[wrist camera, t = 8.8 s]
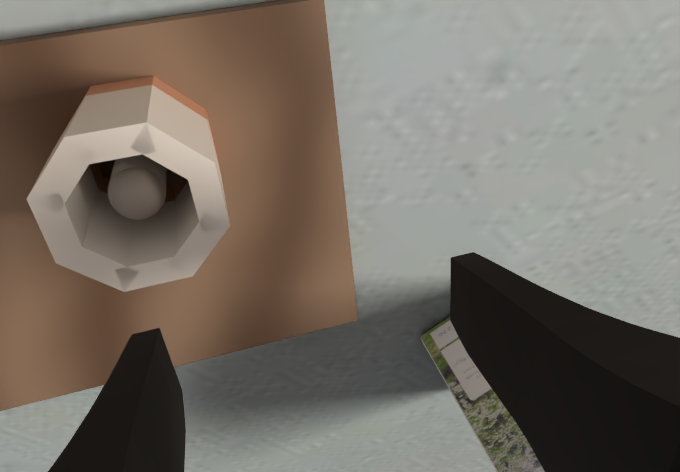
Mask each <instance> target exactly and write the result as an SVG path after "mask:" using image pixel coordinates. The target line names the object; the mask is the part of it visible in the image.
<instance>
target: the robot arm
mask: <svg viewBox="0 0 680 472" xmlns="http://www.w3.org/2000/svg"><path fill="white" fill-rule="evenodd" d="M450 321H451V323H452V325H453V327H454V329H455V331H456V333H457V335H458V337H459V339H460V341H461V342H462V344H463V346H464V348H465V350H466V352H467V354H468V355H469V356H470V358H471V359H472V361H473V362H474V364H475V365H476V367H477V368H478V370H479V371H480V372H481V374H482V375H483V377H484V378H485V380H486V381H487V382H488V384H489V385H490V387H491V388H492V389H493V391H494V392H495V394H496V395H497V397H498V398H499V399H500V401H501V402H502V404H503V405H504V406H505V408H506V409H507V411H508V412H509V413H510V415H511V416H512V418H513V419H514V421H515V422H516V423H517V425H518V427H519V428H520V430H521V431H522V433H523V434H524V436H525V437H526V439H527V441H528V443H529V444H530V446H531V448H532V450H533V452H534V453H535V455H536V457H537V459H538V460H539V462H540V464H541V466H542V468H543V469H544V471H545V472H680V338H678V337H674V336H671V335H667V334H664V333H660V332H657V331H653V330H650V329H646V328H643V327H640V326H636V325H633V324H630V323H627V322H624V321H622V320H619V319H616V318H613V317H610V316H608V315H605V314H602V313H599V312H597V311H594V310H592V309H589V308H587V307H584V306H582V305H580V304H577V303H575V302H573V301H571V300H568V299H566V298H564V297H561V296H559V295H557V294H555V293H553V292H551V291H549V290H547V289H544V288H542V287H540V286H538V285H536V284H534V283H532V282H530V281H528V280H526V279H525V278H523V277H521V276H519V275H517V274H515V273H513V272H511V271H509V270H507V269H505V268H503V267H502V266H500V265H498V264H496V263H494V262H492V261H490V260H488V259H486V258H484V257H482V256H480V255H478V254H476V253H474V252H472V253H468V254H464V255H460V256H456V257H452V258H451V303H450ZM185 432H186V430H185V417H184V405H183V395H182V389H181V386H180V383H179V380H178V378H177V375H176V372H175V369H174V367H173V364H172V361H171V358H170V355H169V353H168V350H167V347H166V344H165V342H164V339H163V336H162V333H161V330H160V328H156V329H152V330H148V331H144V332H140V333H135V334H132V335H131V337H130V338H129V340H128V342H127V344H126V346H125V348H124V350H123V351H122V353H121V355H120V357H119V359H118V361H117V363H116V365H115V367H114V369H113V371H112V372H111V374H110V376H109V378H108V380H107V382H106V383H105V385H104V387H103V389H102V390H101V392H100V394H99V396H98V397H97V399H96V401H95V403H94V404H93V406H92V408H91V409H90V411H89V413H88V414H87V416H86V417H85V419H84V420H83V422H82V423H81V425H80V426H79V428H78V430H77V431H76V433H75V434H74V436H73V437H72V439H71V440H70V442H69V443H68V445H67V446H66V448H65V449H64V450H63V452H62V453H61V455H60V456H59V458H58V459H57V460H56V462H55V463H54V464H53V466H52V467H51V468H50V470H49V471H48V472H184V460H185Z"/></svg>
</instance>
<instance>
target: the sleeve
mask: <svg viewBox="0 0 680 472" xmlns="http://www.w3.org/2000/svg"><path fill="white" fill-rule="evenodd" d="M142 154H143V155H145V156H146V157H148V158H150V159H152V160H153V161H155V162H157V163H159V164H161V165H162V166H164V167H166V168H168V169H170V170H171V171H173V172H175V173H177V174H178V175H180V176H182V177H181V178H180V180H179V181H178V182H177V184H176V185H175V186H174V187H169V188H166V198H165V202H164V204H163V206H162V208H161V209H160V210H159V211H158V212H157V213H156V214H155V215H153V216H152V217H149V218H147V219H142V220H133V219H129V218H126V217H124V216H122V215H120V214H119V213H118V212H117V211H116V210H115V209H114V208H113V207H112V205H111V203H110V201H109V197H108V186H109V182H110V179H109V178H107V177H105V176H103V175H102V172H101V170H100V167H99V164H98V163H99V162H104V161H110V160H115V159H120V158H126V157H131V156H136V155H142ZM27 201H28V203H29V206H30V208H31V210H32V212H33V214H34V217H35V219H36V221H37V223H38V225H39V228H40V230H41V232H42V234H43V236H44V239H45V241H46V243H47V245H48V247H49V250H50V252H51V254H52V256H53V258H54V261H55V263H56V264H59V265H61V266H63V267H66V268H68V269H71V270H73V271H75V272H78V273H80V274H83V275H85V276H87V277H90V278H92V279H94V280H97V281H99V282H102V283H104V284H106V285H109V286H111V287H114V288H116V289H118V290H121V291H123V292H126V291H131V290H135V289H140V288H144V287H148V286H153V285H157V284H162V283H166V282H170V281H175V280H179V279H184V278H188V277H192V276H193V275H194V274H195V273H196V271H197V270H198V269H199V267H200V266H201V265H202V263H203V262H204V261H205V259H206V258H207V256H208V255H209V254H210V252H211V251H212V250H213V248H214V247H215V246H216V244H217V243H218V242H219V240H220V239H221V237H222V236H223V235H224V233H225V232H226V231H227V229H228V228H229V227H230V223H229V217H228V211H227V206H226V200H225V195H224V189H223V184H222V178H221V173H220V167H219V162H218V158H217V154H216V149H215V145H214V141H213V137H212V132H211V128H210V124H209V120H208V115H207V111H206V109H204V108H203V107H201V106H200V105H198V104H197V103H195V102H194V101H192V100H190V99H189V98H187V97H186V96H184V95H183V94H181V93H180V92H178V91H177V90H175V89H173V88H172V87H170V86H169V85H167V84H166V83H164V82H163V81H161V80H159V79H158V78H156V77H155V76H149V77H143V78H136V79H130V80H124V81H118V82H112V83H106V84H100V85H94V86H90V88H89V90H88V92H87V93H86V95H85V97H84V98H83V100H82V102H81V103H80V105H79V107H78V108H77V110H76V112H75V113H74V115H73V116H72V118H71V120H70V121H69V123H68V125H67V126H66V128H65V130H64V131H63V133H62V135H61V136H60V138H59V140H58V142H57V144H56V146H55V147H54V149H53V151H52V153H51V155H50V157H49V158H48V160H47V162H46V164H45V166H44V168H43V169H42V171H41V173H40V175H39V177H38V179H37V181H36V182H35V184H34V186H33V188H32V190H31V192H30V193H29V195H28V197H27Z"/></svg>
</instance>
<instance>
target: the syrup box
mask: <svg viewBox="0 0 680 472" xmlns="http://www.w3.org/2000/svg"><path fill="white" fill-rule="evenodd" d="M421 341H422V343H423V344H424V346H425V348H426V350H427V351H428V353H429V355H430V356H431V358H432V360H433V362H434V363H435V365H436V367H437V369H438V370H439V372H440V374H441V376H442V377H443V379H444V381H445V383H446V384H447V386H448V388H449V390H450V392H451V393H452V395H453V397H454V398H455V400H456V402H457V403H458V405H459V407H460V408H461V410H462V412H463V414H464V415H465V417H466V419H467V421H468V422H469V424H470V426H471V427H472V429H473V431H474V433H475V434H476V436H477V438H478V440H479V441H480V443H481V445H482V447H483V448H484V450H485V452H486V454H487V455H488V457H489V459H490V461H491V463H492V464H493V466H494V468H495V469H496V471H497V472H545V471H544V469H543V468H542V466H541V464H540V462H539V460H538V459H537V457H536V455H535V453H534V452H533V450H532V448H531V446H530V444H529V443H528V441H527V439H526V437H525V436H524V434H523V433H522V431H521V430H520V428H519V427H518V425H517V423H516V422H515V421H514V419H513V418H512V416H511V415H510V413H509V412H508V411H507V409H506V408H505V406H504V405H503V404H502V402H501V401H500V399H499V398H498V397H497V395H496V394H495V392H494V391H493V389H492V388H491V387H490V385H489V384H488V382H487V381H486V380H485V378H484V377H483V375H482V374H481V372H480V371H479V370H478V368H477V367H476V365H475V364H474V362H473V361H472V359H471V358H470V356H469V355H468V354H467V352H466V350H465V348H464V346H463V344H462V342H461V341H460V339H459V337H458V335H457V333H456V331H455V329H454V327H453V325H452V323H451V321H450V317H448V318H447V319H445V320H444V321H442V322H440V323H439V324H438V325H436V326H435V327H433V328H431V329H430V330H429V331H427V332H426V333H425V334H423V335H422V336H421Z"/></svg>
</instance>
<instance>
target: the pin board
mask: <svg viewBox="0 0 680 472" xmlns="http://www.w3.org/2000/svg"><path fill="white" fill-rule="evenodd" d="M149 76H155V77H156V78H158V79H159V80H161V81H163V82H164V83H166V84H167V85H169V86H170V87H172V88H173V89H175V90H177V91H178V92H180V93H181V94H183V95H184V96H186V97H187V98H189V99H190V100H192V101H194V102H195V103H197V104H198V105H200V106H201V107H203V108H204V109H206V111H207V115H208V120H209V124H210V128H211V132H212V137H213V141H214V145H215V149H216V154H217V158H218V162H219V167H220V173H221V178H222V184H223V189H224V195H225V200H226V206H227V211H228V217H229V223H230V227H229V228H228V229H227V231H226V232H225V233H224V235H223V236H222V237H221V239H220V240H219V242H218V243H217V244H216V246H215V247H214V248H213V250H212V251H211V252H210V254H209V255H208V256H207V258H206V259H205V261H204V262H203V263H202V265H201V266H200V267H199V269H198V270H197V271H196V273H195V274H194V275H193V276H192V277H188V278H184V279H179V280H175V281H170V282H166V283H162V284H157V285H153V286H148V287H144V288H140V289H135V290H131V291H126V292H123V291H121V290H118V289H116V288H114V287H111V286H109V285H106V284H104V283H102V282H99V281H97V280H94V279H92V278H90V277H87V276H85V275H83V274H80V273H78V272H75V271H73V270H71V269H68V268H66V267H63V266H61V265H59V264H56V263H55V261H54V258H53V256H52V254H51V252H50V250H49V247H48V245H47V243H46V241H45V239H44V236H43V234H42V232H41V230H40V228H39V225H38V223H37V221H36V219H35V217H34V214H33V212H32V210H31V208H30V206H29V203H28V201H27V197H28V195H29V193H30V192H31V190H32V188H33V186H34V184H35V182H36V181H37V179H38V177H39V175H40V173H41V171H42V169H43V168H44V166H45V164H46V162H47V160H48V158H49V157H50V155H51V153H52V151H53V149H54V147H55V146H56V144H57V142H58V140H59V138H60V136H61V135H62V133H63V131H64V130H65V128H66V126H67V125H68V123H69V121H70V120H71V118H72V116H73V115H74V113H75V112H76V110H77V108H78V107H79V105H80V103H81V102H82V100H83V98H84V97H85V95H86V93H87V92H88V90H89V88H90V86H94V85H100V84H106V83H112V82H118V81H124V80H130V79H136V78H143V77H149ZM98 164H99V167H100V170H101V172H102V175H103V176H105V177H107V178H109V179H110V182H109V186H108V197H109V201H110V203H111V205H112V207H113V208H114V209H115V210H116V211H117V212H118V213H119V214H120V215H122V216H124V217H126V218H129V219H133V220H142V219H147V218H149V217H152V216H153V215H155V214H156V213H157V212H158V211H159V210H160V209H161V208H162V206H163V204H164V202H165V198H166V188H169V187H174V186H175V185H176V184H177V182H178V181H179V180H180V178H181V177H182V176H180V175H178V174H177V173H175V172H173V171H171V170H170V169H168V168H166V167H164V166H162V165H161V164H159V163H157V162H155V161H153V160H152V159H150V158H148V157H146V156H145V155H143V154H142V155H136V156H131V157H126V158H120V159H115V160H110V161H104V162H99V163H98ZM357 320H358V314H357V304H356V295H355V286H354V276H353V267H352V258H351V248H350V239H349V230H348V220H347V211H346V201H345V192H344V183H343V173H342V164H341V155H340V145H339V136H338V127H337V117H336V108H335V98H334V89H333V80H332V70H331V61H330V52H329V42H328V33H327V24H326V14H325V5H324V0H279V1H272V2H265V3H258V4H251V5H244V6H237V7H230V8H224V9H217V10H210V11H203V12H196V13H189V14H182V15H175V16H169V17H162V18H155V19H148V20H141V21H134V22H127V23H120V24H114V25H107V26H100V27H93V28H86V29H79V30H72V31H65V32H59V33H52V34H45V35H38V36H31V37H24V38H17V39H10V40H4V41H0V411H2V410H6V409H10V408H14V407H18V406H22V405H26V404H30V403H34V402H38V401H42V400H46V399H50V398H54V397H57V396H61V395H65V394H69V393H73V392H77V391H81V390H85V389H89V388H93V387H97V386H101V385H105V383H106V382H107V380H108V378H109V376H110V374H111V372H112V371H113V369H114V367H115V365H116V363H117V361H118V359H119V357H120V355H121V353H122V351H123V350H124V348H125V346H126V344H127V342H128V340H129V338H130V337H131V335H132V334H135V333H140V332H144V331H148V330H152V329H156V328H160V330H161V333H162V336H163V339H164V342H165V344H166V347H167V350H168V353H169V355H170V358H171V361H172V364H173V367H176V366H180V365H184V364H188V363H192V362H196V361H200V360H204V359H207V358H211V357H215V356H219V355H223V354H227V353H231V352H235V351H239V350H243V349H247V348H251V347H255V346H259V345H263V344H267V343H271V342H275V341H278V340H282V339H286V338H290V337H294V336H298V335H302V334H306V333H310V332H314V331H318V330H322V329H326V328H330V327H334V326H338V325H342V324H346V323H350V322H353V321H357Z"/></svg>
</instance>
